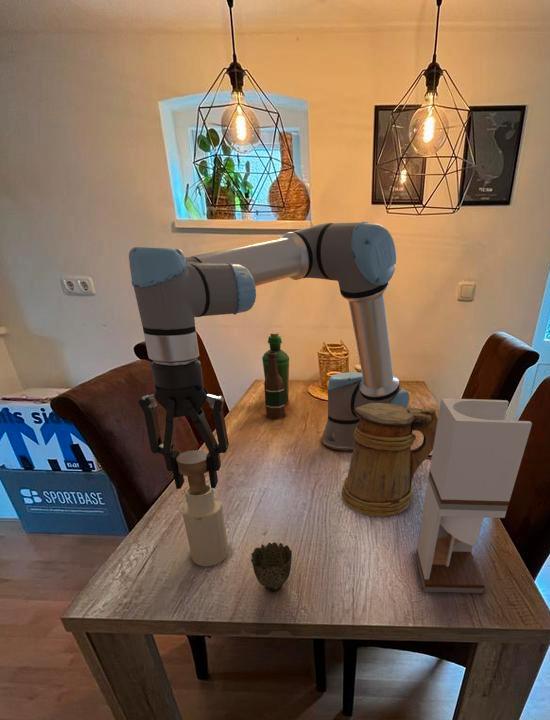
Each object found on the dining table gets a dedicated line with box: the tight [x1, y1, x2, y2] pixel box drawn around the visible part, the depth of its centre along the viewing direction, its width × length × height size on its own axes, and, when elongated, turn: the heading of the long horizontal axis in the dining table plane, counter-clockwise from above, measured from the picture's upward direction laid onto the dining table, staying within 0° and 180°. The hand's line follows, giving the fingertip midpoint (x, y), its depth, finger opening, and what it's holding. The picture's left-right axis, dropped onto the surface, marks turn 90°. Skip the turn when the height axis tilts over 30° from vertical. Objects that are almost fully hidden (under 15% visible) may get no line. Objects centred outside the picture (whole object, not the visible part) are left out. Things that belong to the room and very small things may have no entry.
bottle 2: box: [261, 332, 290, 405], centre depth 160 cm, size 11×11×28 cm
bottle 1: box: [181, 483, 229, 567], centre depth 79 cm, size 7×7×16 cm
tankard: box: [340, 403, 438, 517], centre depth 99 cm, size 18×24×25 cm
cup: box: [251, 541, 293, 593], centre depth 74 cm, size 8×7×8 cm
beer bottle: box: [263, 352, 286, 420], centre depth 148 cm, size 8×8×24 cm
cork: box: [176, 449, 209, 491], centre depth 73 cm, size 6×6×6 cm
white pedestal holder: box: [415, 397, 533, 594], centre depth 72 cm, size 11×11×35 cm
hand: (197, 484), depth 75 cm, fingers closed on cork, 6 cm apart
